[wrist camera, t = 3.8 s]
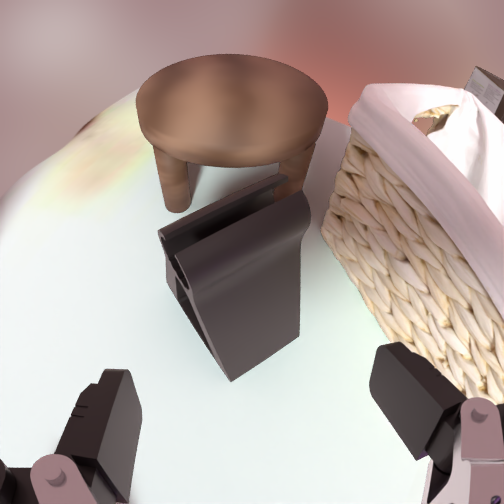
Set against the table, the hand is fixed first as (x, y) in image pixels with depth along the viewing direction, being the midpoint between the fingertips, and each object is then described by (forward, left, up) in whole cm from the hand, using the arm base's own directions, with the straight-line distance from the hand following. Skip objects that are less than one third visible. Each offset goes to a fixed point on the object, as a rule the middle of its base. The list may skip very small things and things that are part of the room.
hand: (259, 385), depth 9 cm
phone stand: (0, +7, -12) cm, 14 cm away
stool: (+1, +22, -12) cm, 25 cm away
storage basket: (+18, +6, -12) cm, 23 cm away
